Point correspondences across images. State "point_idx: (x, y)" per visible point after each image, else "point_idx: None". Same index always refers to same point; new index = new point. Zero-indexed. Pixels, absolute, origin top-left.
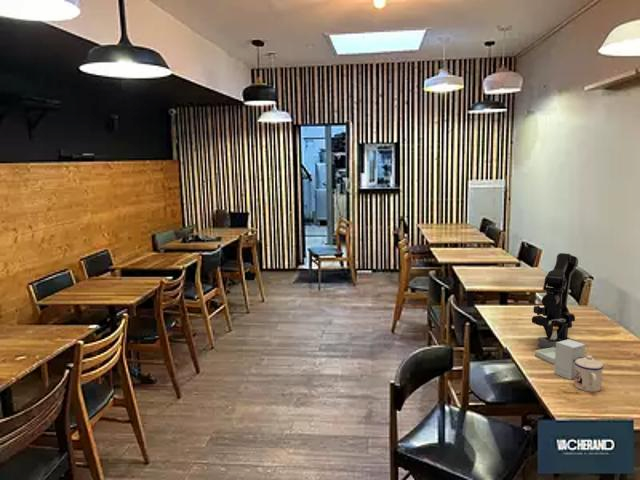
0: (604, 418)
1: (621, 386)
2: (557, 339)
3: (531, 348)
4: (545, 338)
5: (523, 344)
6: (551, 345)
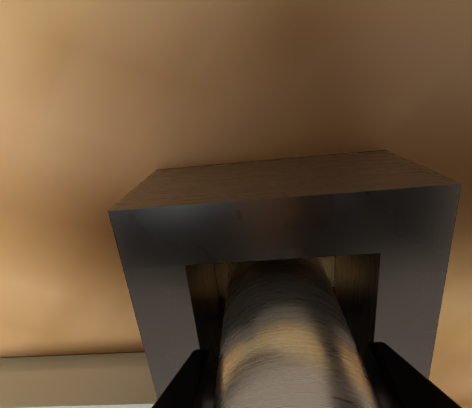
0: None
1: None
2: (370, 339)
3: (54, 196)
4: (221, 259)
5: (14, 38)
6: None
